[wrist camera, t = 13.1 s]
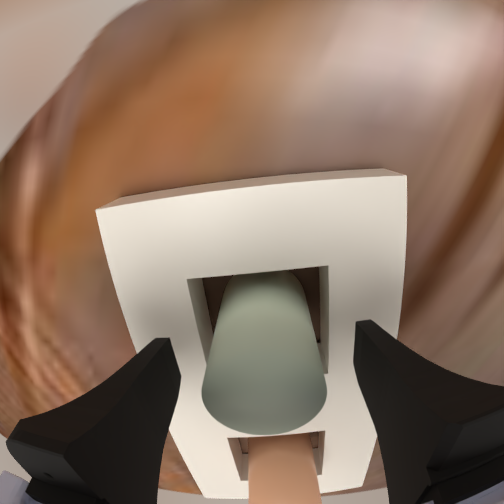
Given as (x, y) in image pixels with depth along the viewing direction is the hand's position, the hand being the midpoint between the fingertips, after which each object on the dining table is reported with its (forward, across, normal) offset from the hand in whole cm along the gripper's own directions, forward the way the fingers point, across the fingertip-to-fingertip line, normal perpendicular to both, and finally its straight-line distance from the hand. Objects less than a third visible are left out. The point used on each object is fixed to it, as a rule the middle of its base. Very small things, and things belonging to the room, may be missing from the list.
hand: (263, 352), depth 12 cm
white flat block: (+4, 0, +5) cm, 6 cm away
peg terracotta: (+4, 0, +10) cm, 11 cm away
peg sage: (+4, 0, 0) cm, 4 cm away
